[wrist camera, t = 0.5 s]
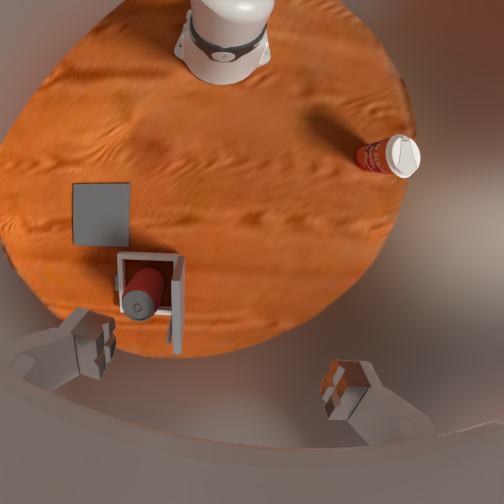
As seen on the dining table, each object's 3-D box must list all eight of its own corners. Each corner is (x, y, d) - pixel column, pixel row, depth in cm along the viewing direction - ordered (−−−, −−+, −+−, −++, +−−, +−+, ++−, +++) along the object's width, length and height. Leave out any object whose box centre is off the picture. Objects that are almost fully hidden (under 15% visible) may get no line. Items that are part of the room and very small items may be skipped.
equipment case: (116, 251, 53) (87, 276, 38) (185, 253, 55) (179, 281, 40) (119, 307, 56) (96, 347, 40) (185, 311, 58) (181, 353, 43)
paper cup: (349, 140, 55) (387, 132, 42) (379, 141, 56) (420, 135, 43) (352, 177, 57) (391, 178, 44) (382, 176, 58) (423, 178, 45)
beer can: (136, 298, 56) (123, 325, 44) (131, 267, 54) (114, 288, 43) (168, 296, 57) (160, 323, 45) (163, 264, 55) (153, 285, 44)
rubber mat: (74, 184, 48) (73, 184, 48) (130, 183, 51) (129, 183, 50) (75, 244, 51) (73, 245, 50) (129, 246, 53) (128, 247, 53)
